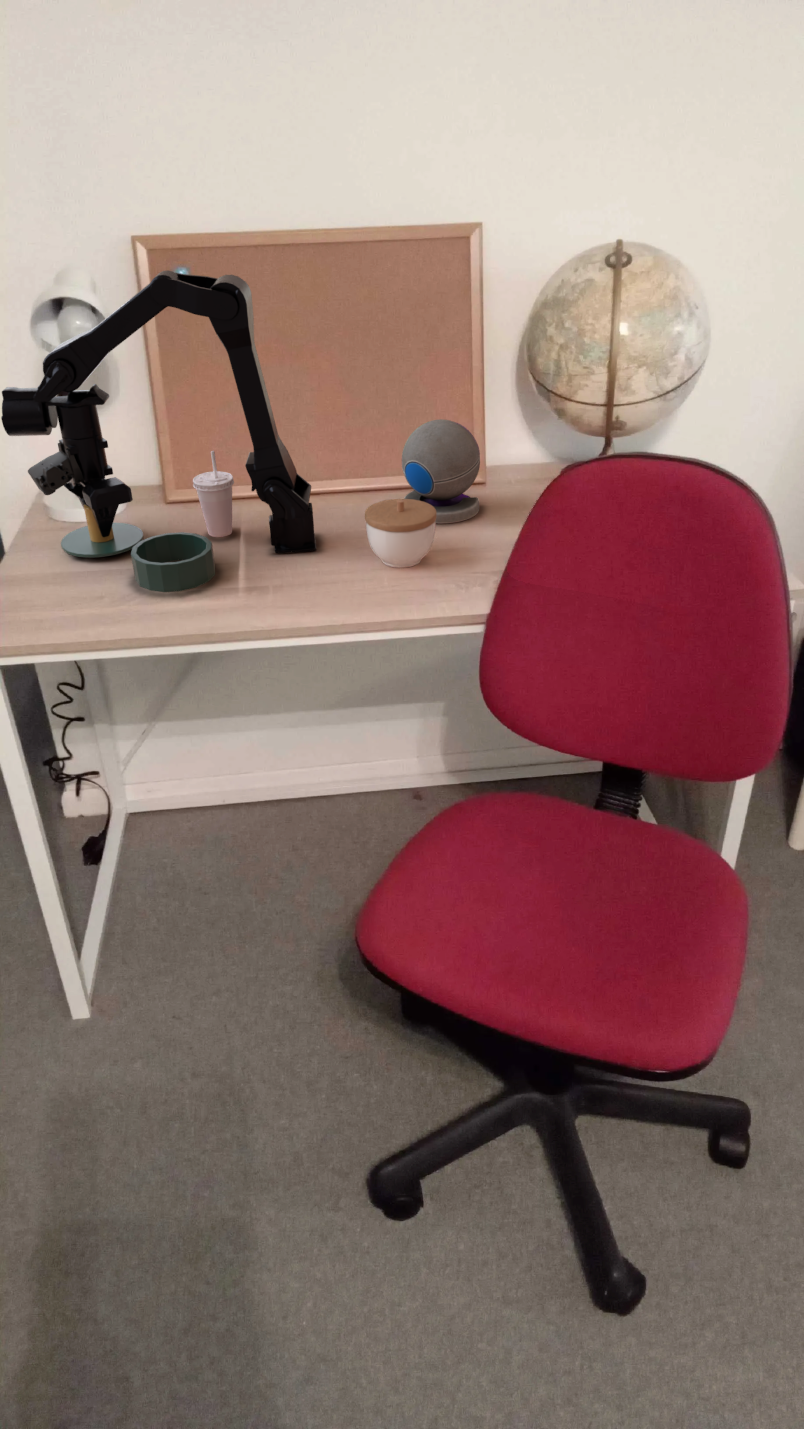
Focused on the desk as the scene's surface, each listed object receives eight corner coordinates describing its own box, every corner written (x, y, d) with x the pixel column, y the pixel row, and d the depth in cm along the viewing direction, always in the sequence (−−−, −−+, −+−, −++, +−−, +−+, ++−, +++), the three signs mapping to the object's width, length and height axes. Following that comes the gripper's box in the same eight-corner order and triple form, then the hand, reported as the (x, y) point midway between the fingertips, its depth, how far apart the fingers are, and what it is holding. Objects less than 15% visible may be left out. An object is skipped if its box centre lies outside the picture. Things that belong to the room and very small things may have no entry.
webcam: (493, 507, 169) (496, 419, 161) (446, 530, 161) (446, 439, 153) (434, 490, 176) (435, 405, 168) (386, 511, 168) (384, 423, 160)
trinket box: (447, 551, 154) (447, 493, 149) (419, 579, 146) (418, 519, 141) (385, 540, 158) (383, 484, 153) (354, 567, 150) (351, 508, 144)
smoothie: (231, 544, 157) (220, 459, 150) (194, 541, 159) (181, 457, 151) (246, 528, 163) (236, 445, 155) (210, 525, 164) (198, 443, 156)
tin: (216, 559, 153) (213, 529, 150) (214, 592, 143) (210, 561, 141) (140, 564, 152) (135, 534, 149) (132, 597, 142) (127, 567, 140)
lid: (147, 526, 162) (141, 487, 158) (140, 558, 152) (132, 517, 148) (68, 531, 161) (60, 492, 157) (55, 563, 150) (46, 523, 147)
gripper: (8, 428, 149) (32, 525, 158) (47, 461, 136) (70, 565, 145) (80, 414, 154) (99, 509, 163) (124, 445, 141) (142, 547, 150)
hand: (101, 532), depth 155 cm, fingers closed on lid, 3 cm apart
